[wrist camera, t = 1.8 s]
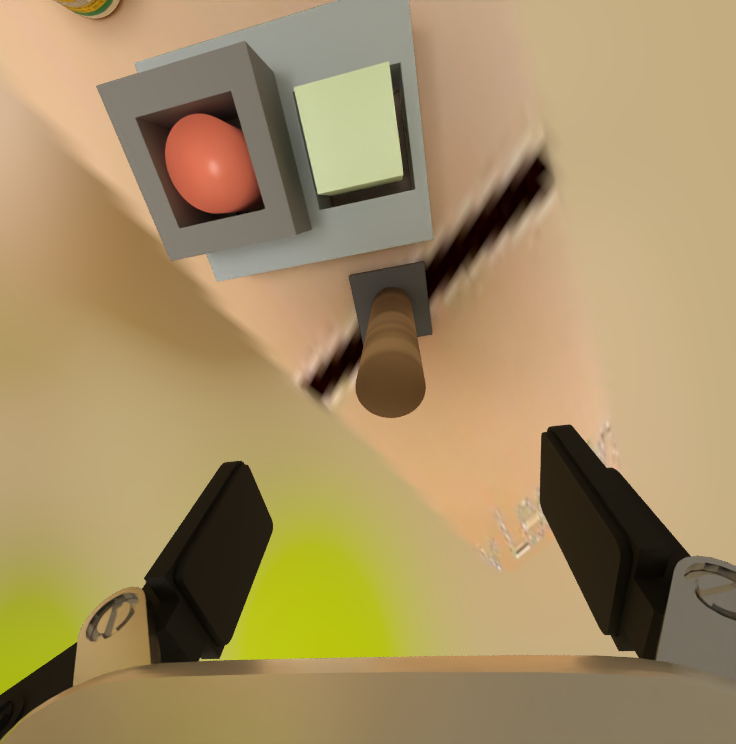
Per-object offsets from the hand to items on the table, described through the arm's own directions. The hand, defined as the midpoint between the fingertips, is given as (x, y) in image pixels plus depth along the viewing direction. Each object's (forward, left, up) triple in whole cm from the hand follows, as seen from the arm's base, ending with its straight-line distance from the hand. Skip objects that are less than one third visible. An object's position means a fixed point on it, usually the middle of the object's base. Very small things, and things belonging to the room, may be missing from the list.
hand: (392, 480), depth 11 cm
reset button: (-11, -8, -17) cm, 21 cm away
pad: (0, 0, -20) cm, 20 cm away
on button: (-11, 0, -17) cm, 20 cm away
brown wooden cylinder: (0, 0, -19) cm, 19 cm away
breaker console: (-11, -4, -20) cm, 23 cm away
